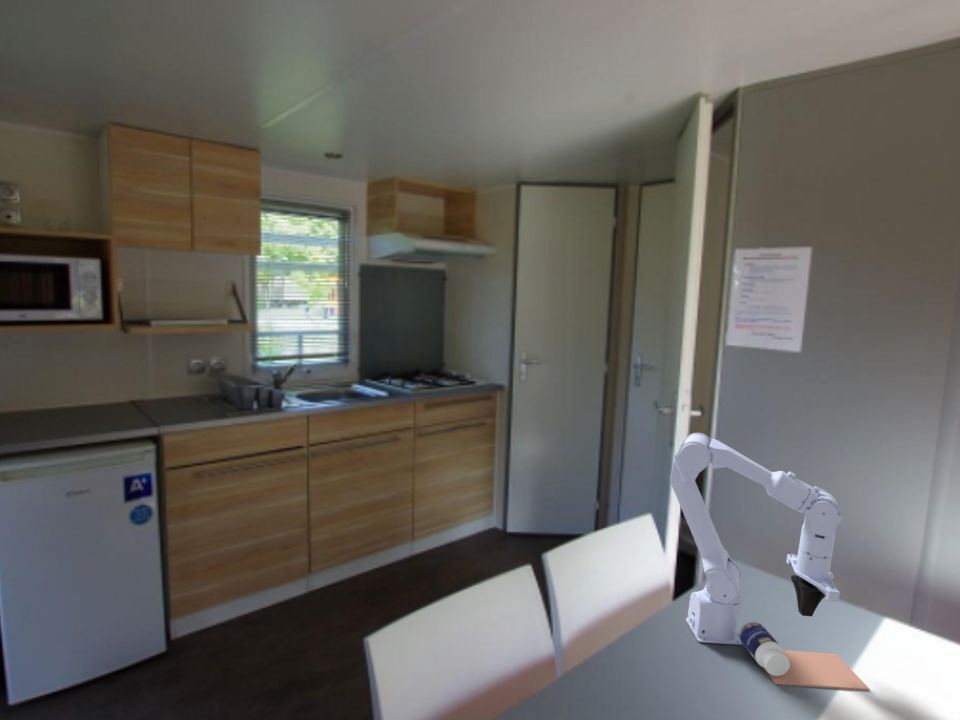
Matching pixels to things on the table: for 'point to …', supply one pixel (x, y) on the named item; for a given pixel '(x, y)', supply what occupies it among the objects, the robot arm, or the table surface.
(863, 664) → the table surface
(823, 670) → the mat
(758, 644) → the pill bottle
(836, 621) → the table surface
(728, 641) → the robot arm
